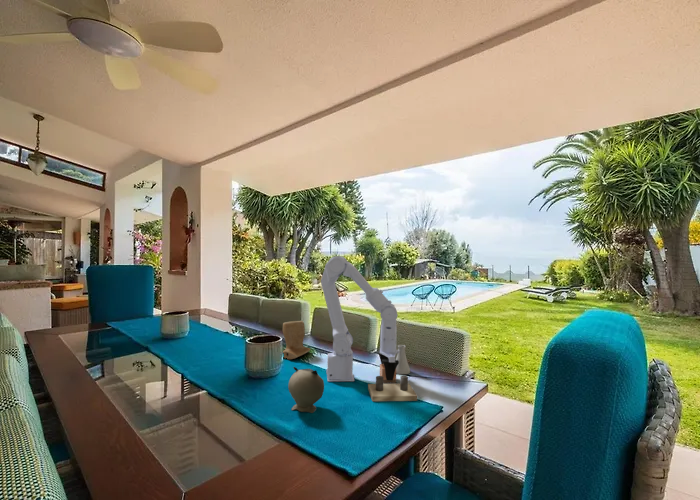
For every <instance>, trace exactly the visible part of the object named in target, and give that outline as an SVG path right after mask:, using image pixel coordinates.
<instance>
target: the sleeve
mask: <svg viewBox="0 0 700 500" xmlns="http://www.w3.org/2000/svg"><path fill="white" fill-rule="evenodd" d="M379 376H382V377H383V384H397V373H396V369H395V373H394V377H393V380H387V379H386V374H385V367H384V364H379Z"/></svg>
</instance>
